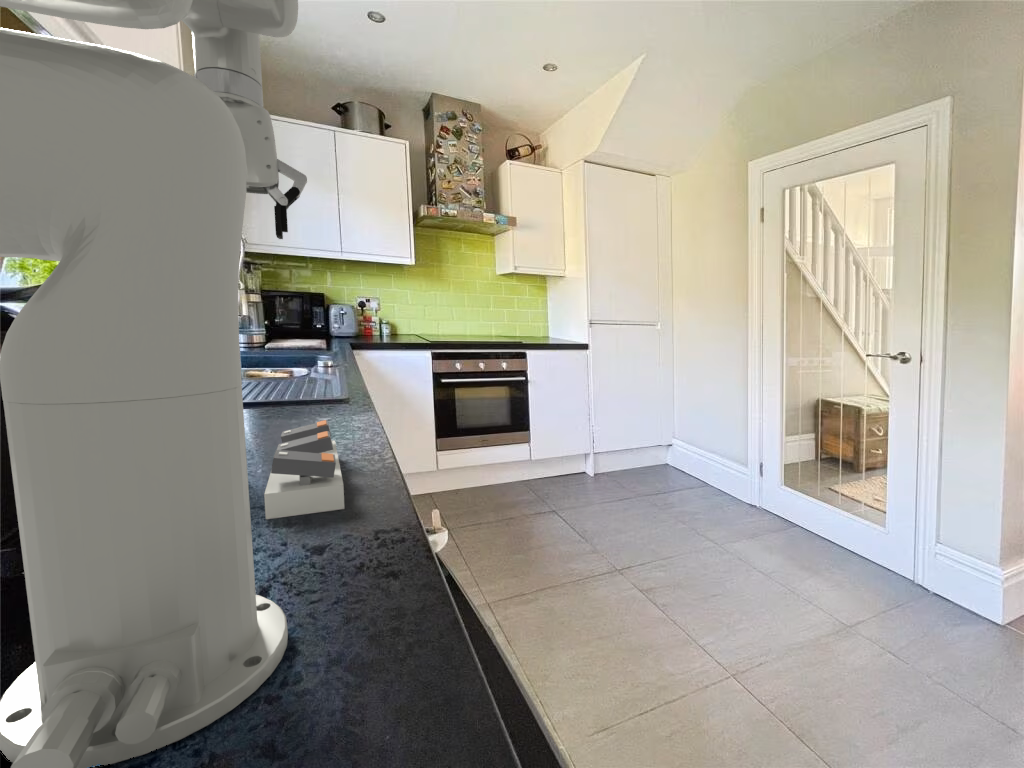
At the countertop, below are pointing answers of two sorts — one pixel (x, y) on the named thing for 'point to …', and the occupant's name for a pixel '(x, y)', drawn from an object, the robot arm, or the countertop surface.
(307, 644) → the countertop surface
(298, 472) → the rocker
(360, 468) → the countertop surface
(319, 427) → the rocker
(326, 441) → the rocker
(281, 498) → the switch panel base
